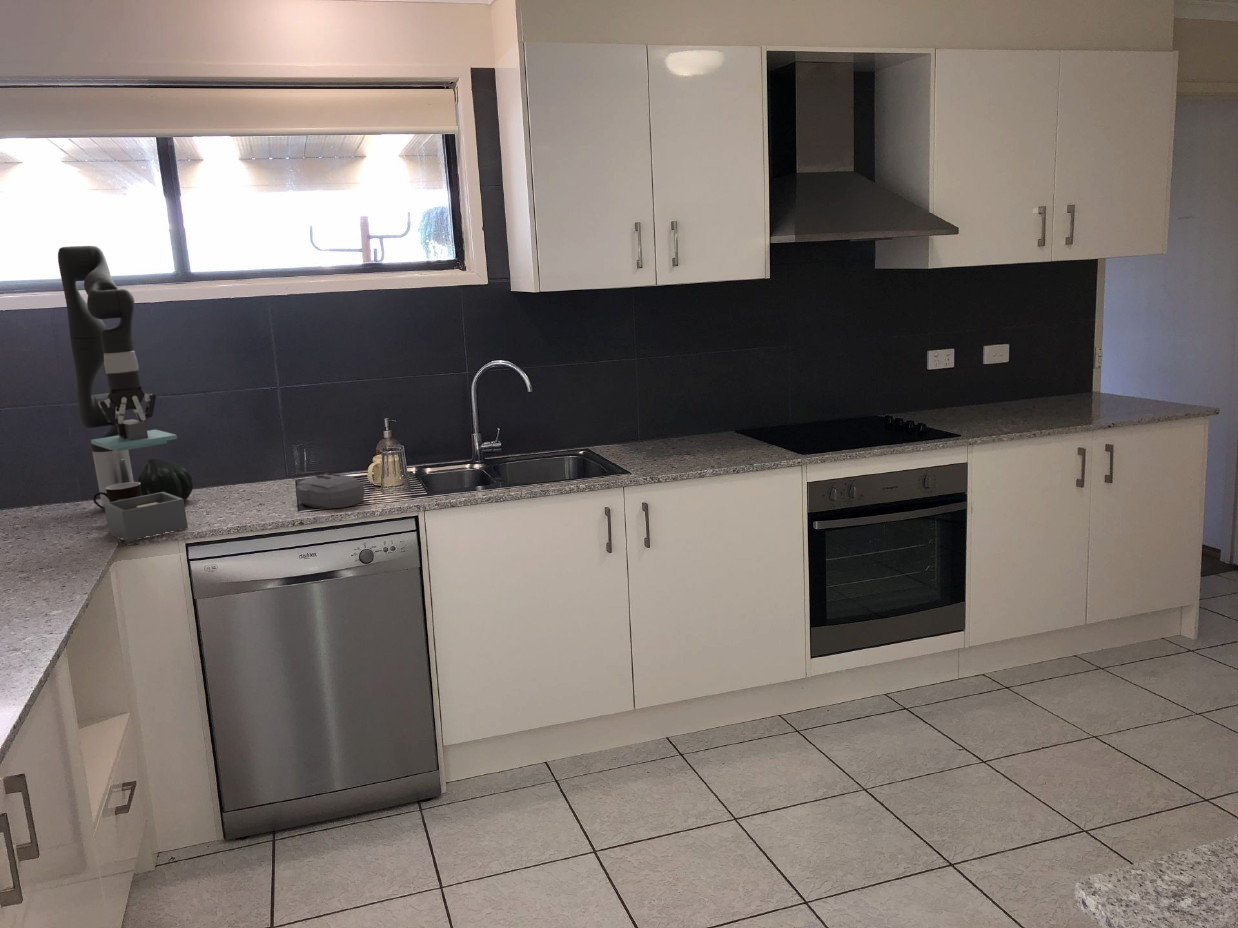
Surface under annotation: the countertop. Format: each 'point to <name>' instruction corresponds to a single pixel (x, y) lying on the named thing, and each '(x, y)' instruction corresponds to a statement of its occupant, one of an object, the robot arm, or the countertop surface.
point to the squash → (165, 479)
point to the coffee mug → (120, 492)
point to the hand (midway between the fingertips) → (133, 436)
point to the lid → (134, 437)
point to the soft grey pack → (330, 491)
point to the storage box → (145, 516)
